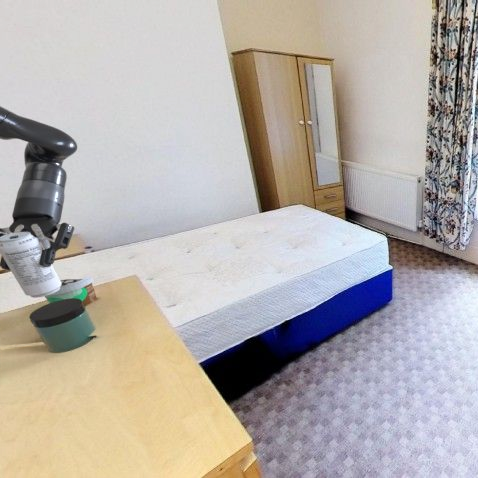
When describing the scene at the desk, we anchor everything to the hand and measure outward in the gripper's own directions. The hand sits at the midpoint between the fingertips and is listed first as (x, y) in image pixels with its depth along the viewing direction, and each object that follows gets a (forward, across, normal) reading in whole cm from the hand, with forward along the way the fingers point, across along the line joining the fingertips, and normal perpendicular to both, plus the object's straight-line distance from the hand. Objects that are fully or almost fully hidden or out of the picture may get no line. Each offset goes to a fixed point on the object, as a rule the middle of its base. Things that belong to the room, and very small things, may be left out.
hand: (26, 267), depth 74 cm
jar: (+15, 0, +17) cm, 23 cm away
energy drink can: (+5, 0, +6) cm, 8 cm away
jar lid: (+8, 0, +10) cm, 13 cm away
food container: (+5, -8, +28) cm, 29 cm away
